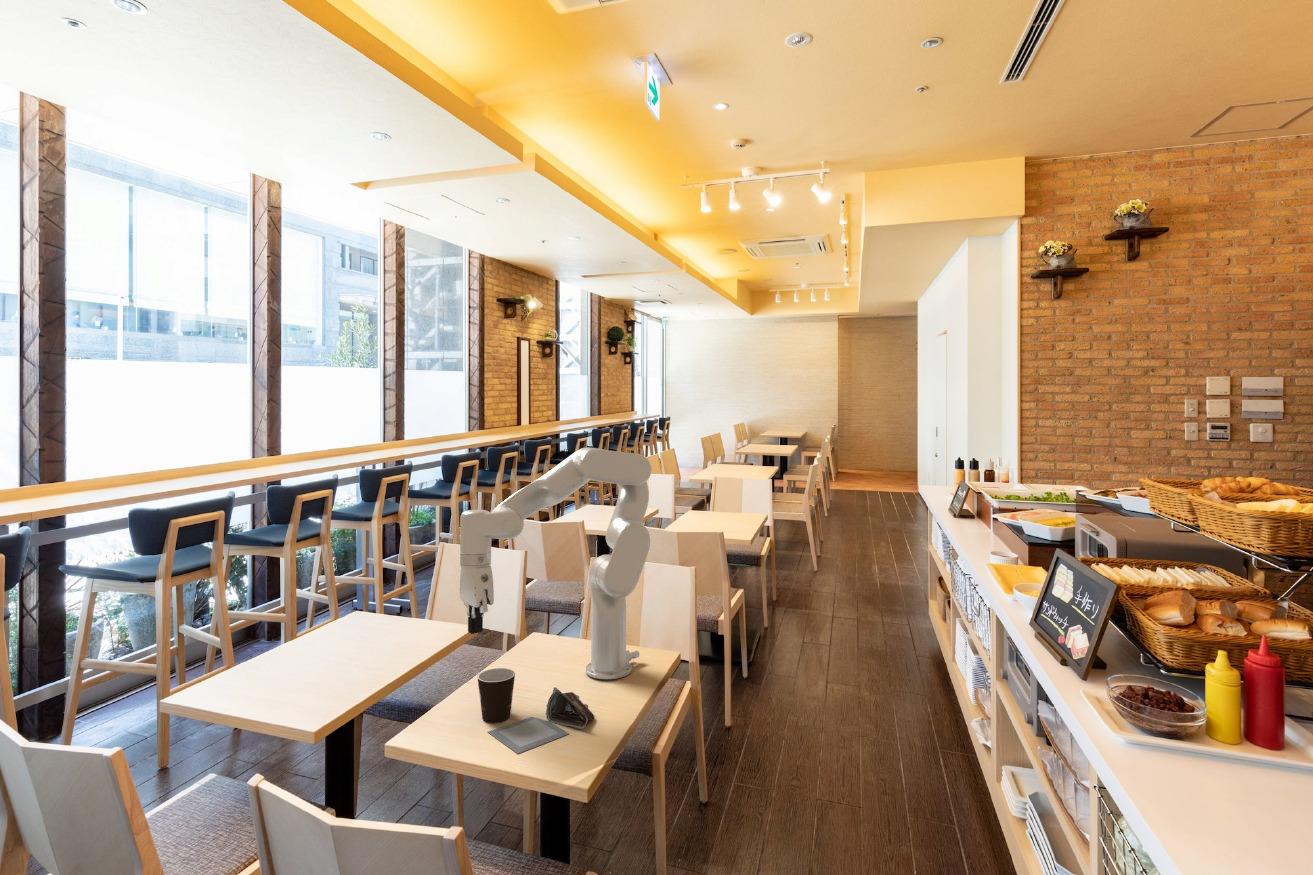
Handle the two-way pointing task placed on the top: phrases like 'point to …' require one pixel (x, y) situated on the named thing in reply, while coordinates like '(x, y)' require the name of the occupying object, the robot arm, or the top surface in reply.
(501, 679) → the coffee mug
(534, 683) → the top surface
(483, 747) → the top surface
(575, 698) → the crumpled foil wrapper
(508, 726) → the mat
